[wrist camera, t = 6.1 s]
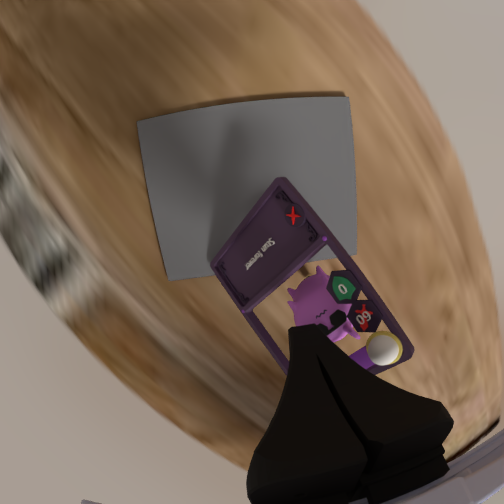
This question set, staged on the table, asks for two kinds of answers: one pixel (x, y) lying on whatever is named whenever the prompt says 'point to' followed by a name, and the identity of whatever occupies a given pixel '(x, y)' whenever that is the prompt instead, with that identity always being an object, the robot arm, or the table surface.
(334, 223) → the mat
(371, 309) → the purple monster photo frame
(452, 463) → the robot arm
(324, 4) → the table surface
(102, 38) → the table surface
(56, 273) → the table surface
